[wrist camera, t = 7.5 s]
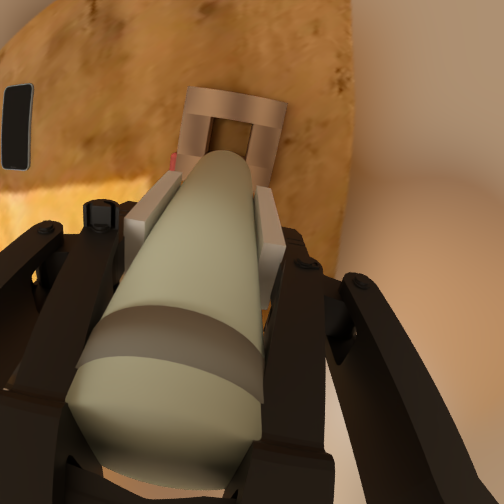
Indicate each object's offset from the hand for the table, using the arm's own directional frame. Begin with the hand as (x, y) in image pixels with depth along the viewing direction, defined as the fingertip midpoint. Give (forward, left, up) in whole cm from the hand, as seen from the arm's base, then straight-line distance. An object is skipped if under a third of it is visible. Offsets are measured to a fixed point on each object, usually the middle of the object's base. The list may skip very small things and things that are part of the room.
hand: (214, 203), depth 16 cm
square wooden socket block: (0, 0, -27) cm, 27 cm away
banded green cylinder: (0, 0, -5) cm, 5 cm away
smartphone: (-38, -1, -27) cm, 46 cm away
